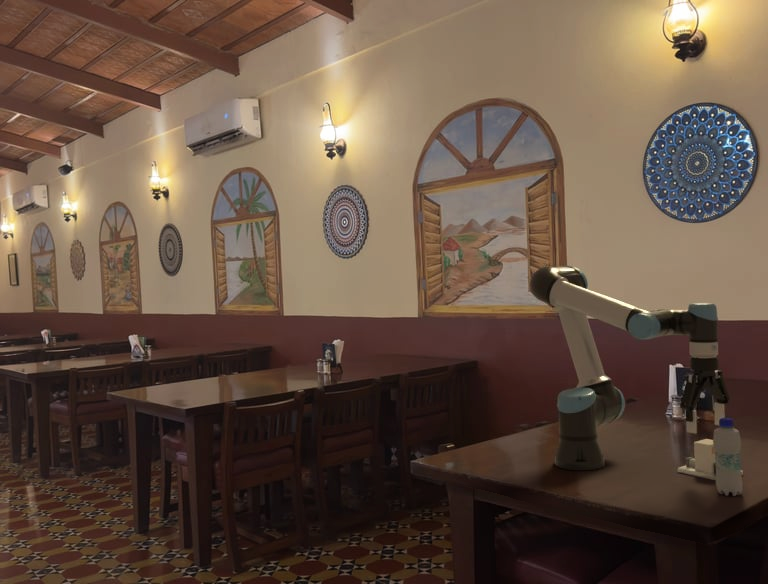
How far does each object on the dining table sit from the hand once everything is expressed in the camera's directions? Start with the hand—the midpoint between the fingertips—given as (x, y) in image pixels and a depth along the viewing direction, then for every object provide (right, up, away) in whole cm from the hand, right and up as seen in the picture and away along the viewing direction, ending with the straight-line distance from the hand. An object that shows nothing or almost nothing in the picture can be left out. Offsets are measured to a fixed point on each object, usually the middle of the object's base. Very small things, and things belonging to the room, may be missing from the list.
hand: (706, 429), depth 202 cm
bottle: (-3, -14, -19) cm, 23 cm away
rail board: (+1, -13, 0) cm, 13 cm away
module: (+1, -12, 0) cm, 12 cm away
